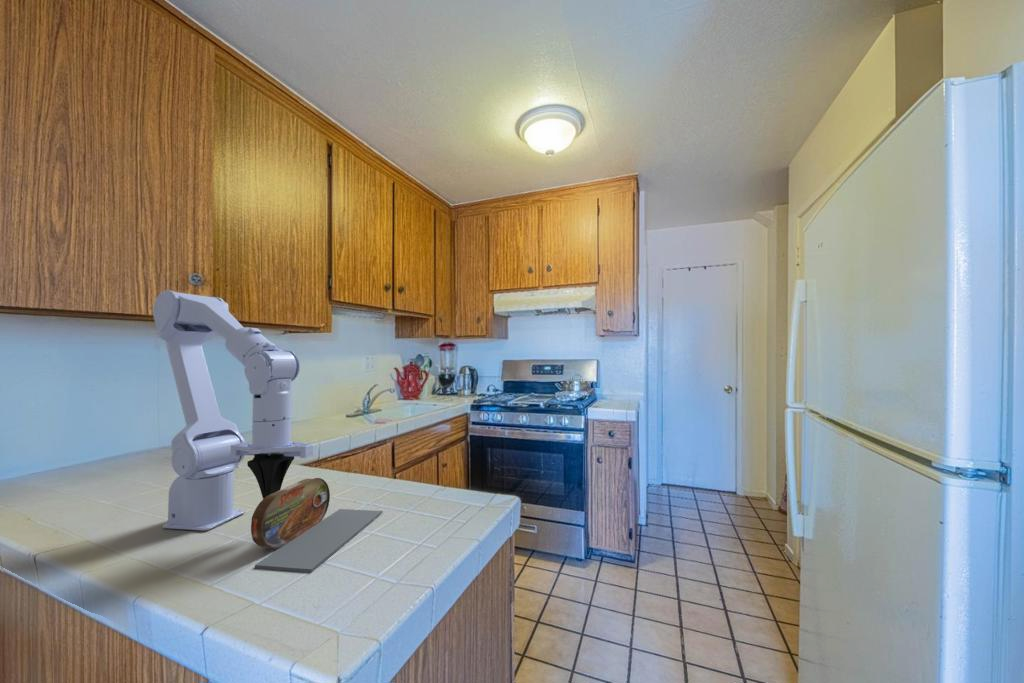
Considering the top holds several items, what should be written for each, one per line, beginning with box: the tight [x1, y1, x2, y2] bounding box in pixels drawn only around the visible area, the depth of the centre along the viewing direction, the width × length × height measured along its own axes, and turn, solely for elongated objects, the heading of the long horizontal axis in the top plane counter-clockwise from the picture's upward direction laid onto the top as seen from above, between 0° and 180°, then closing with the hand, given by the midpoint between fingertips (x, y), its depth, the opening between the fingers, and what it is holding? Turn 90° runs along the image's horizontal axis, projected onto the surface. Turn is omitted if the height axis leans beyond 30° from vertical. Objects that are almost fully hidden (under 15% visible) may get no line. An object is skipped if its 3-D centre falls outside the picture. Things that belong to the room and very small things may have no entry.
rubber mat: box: [254, 508, 383, 573], centre depth 62 cm, size 9×20×1 cm, turn 171°
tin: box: [250, 477, 331, 549], centre depth 63 cm, size 15×3×8 cm, turn 168°
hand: (271, 498), depth 64 cm, fingers closed
